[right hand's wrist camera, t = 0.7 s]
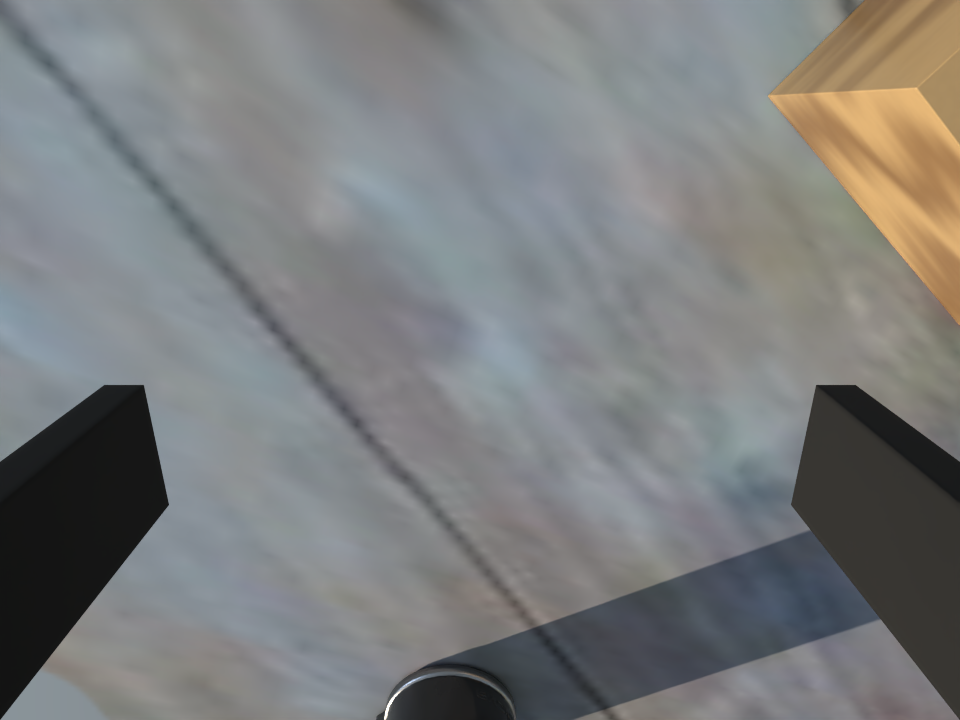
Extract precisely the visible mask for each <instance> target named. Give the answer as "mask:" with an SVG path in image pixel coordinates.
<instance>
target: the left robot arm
mask: <svg viewBox="0 0 960 720" xmlns="http://www.w3.org/2000/svg"><path fill="white" fill-rule="evenodd" d="M376 720H516V710H515V705H514V701H513V699H512V696H511V695H510V693H509V691H508V690H507V689H506V688H505V686H504V685H503V684H502V683H501V682H499V681H498V680H497V679H495V678H494V677H493V676H491V675H489V674H487V673H485V672H483V671H480V670H478V669H475V668H471V667H467V666H460V665H439V666H433V667H428V668H425V669H422V670H419V671H417V672H414V673H413V674H411V675H409V676H407V677H406V678H404V679H403V680H402V681H401V682H400V683H399V684H398V685H397V686H396V687H395V688H394V689H393V691H392V692H391V694H390V696H389V698H388V701H387V705H386V710H385V711H384V712H383V713H381V714H379V715H378V716H377V718H376Z"/></svg>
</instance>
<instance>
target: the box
mask: <svg viewBox="0 0 960 720" xmlns="http://www.w3.org/2000/svg"><path fill="white" fill-rule="evenodd" d="M768 97H769V98H770V99H771V100H772V102H773V103H774V104H775V105H776V106H777V108H778V109H779V110H780V111H781V112H782V114H783V115H784V116H785V117H786V118H787V120H788V121H789V122H790V123H791V124H792V126H793V127H794V128H795V129H796V130H797V132H798V133H799V134H800V135H801V136H802V138H803V139H804V140H805V141H806V142H807V144H808V145H809V146H810V147H811V148H812V150H813V151H814V152H815V153H816V154H817V155H818V157H819V158H820V159H821V160H822V161H823V163H824V164H825V165H826V166H827V167H828V169H829V170H830V171H831V172H832V173H833V175H834V176H835V177H836V178H837V179H838V181H839V182H840V183H841V184H842V185H843V187H844V188H845V189H846V190H847V191H848V193H849V194H850V195H851V196H852V197H853V199H854V200H855V201H856V202H857V203H858V205H859V206H860V207H861V208H862V209H863V210H864V212H865V213H866V214H867V215H868V216H869V218H870V219H871V220H872V221H873V222H874V224H875V225H876V226H877V227H878V228H879V230H880V231H881V232H882V233H883V234H884V236H885V237H886V238H887V239H888V240H889V242H890V243H891V244H892V245H893V246H894V248H895V249H896V250H897V251H898V252H899V254H900V255H901V256H902V257H903V258H904V259H905V261H906V262H907V263H908V264H909V265H910V267H911V268H912V269H913V270H914V271H915V273H916V274H917V275H918V276H919V277H920V279H921V280H922V281H923V282H924V283H925V285H926V286H927V287H928V288H929V289H930V291H931V292H932V293H933V294H934V295H935V297H936V298H937V299H938V300H939V301H940V303H941V304H942V305H943V306H944V307H945V309H946V310H947V311H948V312H949V313H950V314H951V316H952V317H953V318H954V319H955V320H956V322H957V323H958V324H959V325H960V0H865V1H864V2H863V3H862V4H861V5H860V6H859V7H858V8H857V9H856V10H855V11H854V12H853V13H851V14H850V15H849V16H848V17H847V18H846V19H845V20H844V21H843V22H842V23H841V24H840V25H839V26H838V27H837V28H836V29H835V30H834V31H833V32H832V33H831V34H830V35H829V36H828V37H827V38H826V39H825V40H824V41H823V42H822V43H821V44H820V45H819V46H818V47H817V48H816V49H815V50H814V51H813V52H812V53H811V54H810V55H809V56H808V57H807V58H806V59H805V60H804V61H803V62H802V63H801V64H800V65H799V66H798V67H797V68H796V69H795V70H794V71H793V72H792V73H791V74H790V75H789V76H787V77H786V78H785V79H784V80H783V81H782V82H781V83H780V84H779V85H778V86H777V87H776V88H775V89H774V90H773V91H772V92H771V93H770V94H769V95H768Z"/></svg>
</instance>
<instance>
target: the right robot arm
mask: <svg viewBox="0 0 960 720" xmlns="http://www.w3.org/2000/svg"><path fill="white" fill-rule="evenodd" d="M168 505H169V503H168V498H167V494H166V489H165V484H164V479H163V474H162V470H161V465H160V460H159V455H158V451H157V446H156V441H155V436H154V432H153V427H152V422H151V417H150V413H149V408H148V403H147V398H146V394H145V389H144V385H104V386H103V387H101V388H100V389H99V390H97V391H96V392H94V393H93V394H92V395H90V396H89V397H88V398H86V399H85V400H84V401H82V402H81V403H80V404H78V405H77V406H75V407H74V408H73V409H71V410H70V411H69V412H67V413H66V414H65V415H63V416H62V417H61V418H59V419H58V420H56V421H55V422H54V423H52V424H51V425H50V426H48V427H47V428H46V429H44V430H43V431H42V432H40V433H39V434H37V435H36V436H35V437H33V438H32V439H31V440H29V441H28V442H27V443H25V444H24V445H23V446H21V447H20V448H18V449H17V450H16V451H14V452H13V453H12V454H10V455H9V456H8V457H6V458H5V459H4V460H2V461H1V462H0V719H1V718H2V717H3V716H4V714H5V713H6V712H7V710H8V709H9V708H10V707H11V705H12V704H13V703H14V702H15V700H16V699H17V698H18V696H19V695H20V694H21V693H22V691H23V690H24V689H25V688H26V686H27V685H28V684H29V682H30V681H31V680H32V679H33V677H34V676H35V675H36V673H37V672H38V671H39V670H40V668H41V667H42V666H43V665H44V663H45V662H46V661H47V660H48V658H49V657H50V656H51V654H52V653H53V652H54V651H55V649H56V648H57V647H58V646H59V644H60V643H61V642H62V640H63V639H64V638H65V637H66V635H67V634H68V633H69V632H70V630H71V629H72V628H73V626H74V625H75V624H76V623H77V621H78V620H79V619H80V617H81V616H82V615H83V614H84V612H85V611H86V610H87V609H88V607H89V606H90V605H91V603H92V602H93V601H94V600H95V598H96V597H97V596H98V595H99V593H100V592H101V591H102V589H103V588H104V587H105V586H106V584H107V583H108V582H109V581H110V579H111V578H112V577H113V575H114V574H115V573H116V572H117V570H118V569H119V568H120V567H121V565H122V564H123V563H124V561H125V560H126V559H127V558H128V556H129V555H130V554H131V553H132V551H133V550H134V549H135V547H136V546H137V545H138V544H139V542H140V541H141V540H142V538H143V537H144V536H145V535H146V533H147V532H148V531H149V530H150V528H151V527H152V526H153V524H154V523H155V522H156V521H157V519H158V518H159V517H160V516H161V514H162V513H163V512H164V510H165V509H166V508H167V507H168ZM791 505H792V507H793V508H794V509H795V510H796V512H797V513H798V514H799V516H800V517H801V518H802V519H803V521H804V522H805V523H806V524H807V526H808V527H809V528H810V530H811V531H812V532H813V533H814V535H815V536H816V537H817V538H818V540H819V541H820V542H821V544H822V545H823V546H824V547H825V549H826V550H827V551H828V553H829V554H830V555H831V556H832V558H833V559H834V560H835V561H836V563H837V564H838V565H839V567H840V568H841V569H842V570H843V572H844V573H845V574H846V575H847V577H848V578H849V579H850V581H851V582H852V583H853V584H854V586H855V587H856V588H857V589H858V591H859V592H860V593H861V595H862V596H863V597H864V598H865V600H866V601H867V602H868V603H869V605H870V606H871V607H872V609H873V610H874V611H875V612H876V614H877V615H878V616H879V617H880V619H881V620H882V621H883V623H884V624H885V625H886V626H887V628H888V629H889V630H890V632H891V633H892V634H893V635H894V637H895V638H896V639H897V640H898V642H899V643H900V644H901V646H902V647H903V648H904V649H905V651H906V652H907V653H908V654H909V656H910V657H911V658H912V660H913V661H914V662H915V663H916V665H917V666H918V667H919V668H920V670H921V671H922V672H923V674H924V675H925V676H926V677H927V679H928V680H929V681H930V682H931V684H932V685H933V686H934V688H935V689H936V690H937V691H938V693H939V694H940V695H941V696H942V698H943V699H944V700H945V702H946V703H947V704H948V705H949V707H950V708H951V709H952V710H953V712H954V713H955V714H956V716H957V717H958V718H959V719H960V462H959V461H958V460H956V459H955V458H954V457H952V456H951V455H950V454H948V453H947V452H946V451H944V450H943V449H942V448H940V447H939V446H937V445H936V444H935V443H933V442H932V441H931V440H929V439H928V438H927V437H925V436H924V435H923V434H921V433H920V432H918V431H917V430H916V429H914V428H913V427H912V426H910V425H909V424H908V423H906V422H905V421H904V420H902V419H901V418H899V417H898V416H897V415H895V414H894V413H893V412H891V411H890V410H889V409H887V408H886V407H885V406H883V405H882V404H880V403H879V402H878V401H876V400H875V399H874V398H872V397H871V396H870V395H868V394H867V393H866V392H864V391H863V390H861V389H860V388H859V387H857V386H856V385H816V389H815V394H814V398H813V403H812V408H811V413H810V417H809V422H808V427H807V432H806V436H805V441H804V446H803V451H802V455H801V460H800V465H799V470H798V474H797V479H796V484H795V489H794V494H793V498H792V503H791Z"/></svg>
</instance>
